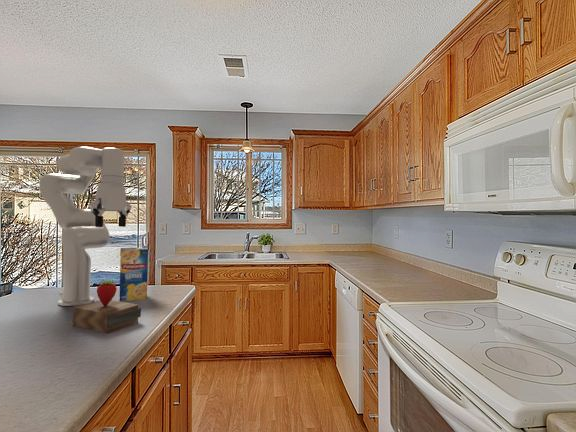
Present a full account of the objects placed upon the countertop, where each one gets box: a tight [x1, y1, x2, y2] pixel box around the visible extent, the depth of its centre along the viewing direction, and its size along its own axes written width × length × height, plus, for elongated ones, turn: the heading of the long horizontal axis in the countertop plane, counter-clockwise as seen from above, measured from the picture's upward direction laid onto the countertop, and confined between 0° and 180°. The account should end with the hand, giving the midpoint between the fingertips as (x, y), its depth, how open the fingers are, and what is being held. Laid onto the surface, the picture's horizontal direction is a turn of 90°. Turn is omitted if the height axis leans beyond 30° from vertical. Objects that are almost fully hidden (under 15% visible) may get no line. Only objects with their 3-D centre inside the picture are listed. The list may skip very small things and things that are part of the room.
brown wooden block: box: [72, 299, 142, 334], centre depth 110 cm, size 17×12×6 cm
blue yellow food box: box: [118, 247, 149, 302], centre depth 144 cm, size 7×11×22 cm, turn 117°
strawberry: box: [96, 280, 118, 306], centre depth 110 cm, size 6×8×10 cm
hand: (111, 226), depth 122 cm, fingers open, 9 cm apart
